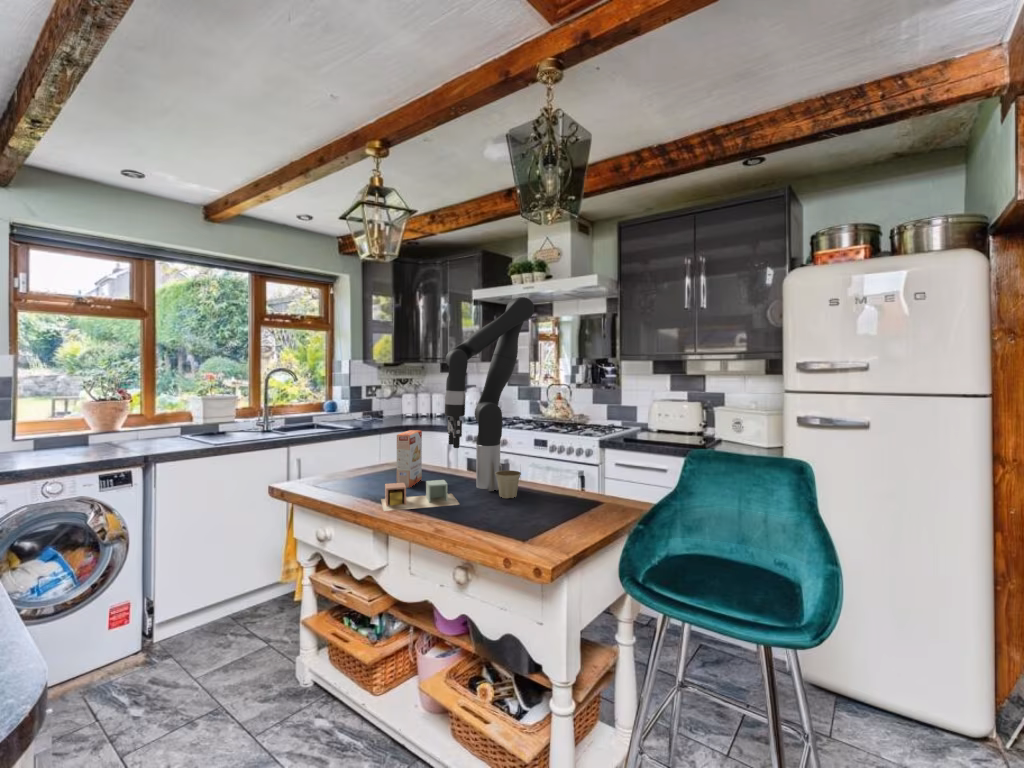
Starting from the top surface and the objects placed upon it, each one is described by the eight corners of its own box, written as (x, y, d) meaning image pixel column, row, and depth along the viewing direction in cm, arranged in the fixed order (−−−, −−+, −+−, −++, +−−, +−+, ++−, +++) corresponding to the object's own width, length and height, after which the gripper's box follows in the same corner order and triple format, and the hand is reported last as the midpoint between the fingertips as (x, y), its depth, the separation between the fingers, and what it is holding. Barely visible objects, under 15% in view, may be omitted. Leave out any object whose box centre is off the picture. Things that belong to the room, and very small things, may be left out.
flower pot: (522, 493, 192) (522, 470, 191) (520, 500, 182) (520, 476, 182) (497, 492, 192) (497, 469, 192) (493, 499, 183) (493, 475, 183)
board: (451, 496, 188) (451, 493, 188) (460, 507, 173) (460, 504, 173) (380, 501, 180) (380, 499, 180) (383, 514, 166) (383, 511, 166)
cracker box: (410, 489, 198) (410, 434, 197) (395, 488, 199) (395, 434, 198) (422, 480, 212) (422, 429, 211) (408, 480, 213) (408, 429, 212)
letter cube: (401, 501, 178) (400, 489, 177) (402, 504, 174) (402, 492, 174) (389, 502, 176) (388, 490, 176) (390, 505, 172) (389, 492, 172)
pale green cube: (444, 496, 183) (444, 479, 183) (447, 501, 177) (447, 483, 177) (426, 497, 182) (426, 481, 181) (428, 502, 175) (428, 485, 175)
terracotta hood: (404, 499, 179) (403, 482, 179) (406, 504, 173) (405, 486, 173) (385, 501, 177) (385, 483, 177) (386, 506, 171) (386, 488, 171)
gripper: (469, 404, 187) (468, 449, 188) (460, 401, 201) (459, 443, 201) (449, 404, 185) (447, 449, 185) (441, 401, 198) (440, 443, 199)
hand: (453, 446), depth 193 cm, fingers open, 8 cm apart
